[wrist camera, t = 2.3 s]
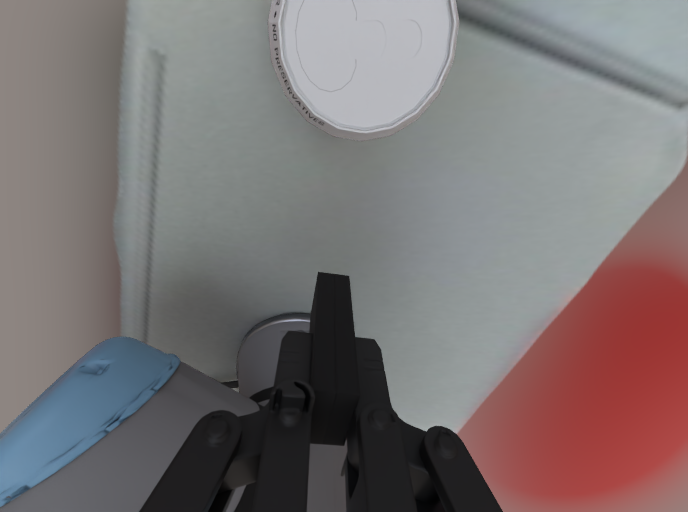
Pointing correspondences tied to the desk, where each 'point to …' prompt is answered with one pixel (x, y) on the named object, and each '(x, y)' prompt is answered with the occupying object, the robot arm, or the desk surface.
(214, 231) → the desk surface
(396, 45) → the supplement can
